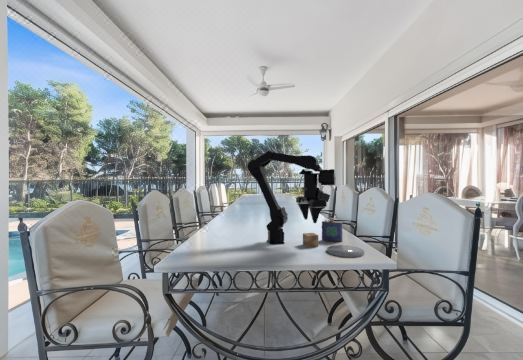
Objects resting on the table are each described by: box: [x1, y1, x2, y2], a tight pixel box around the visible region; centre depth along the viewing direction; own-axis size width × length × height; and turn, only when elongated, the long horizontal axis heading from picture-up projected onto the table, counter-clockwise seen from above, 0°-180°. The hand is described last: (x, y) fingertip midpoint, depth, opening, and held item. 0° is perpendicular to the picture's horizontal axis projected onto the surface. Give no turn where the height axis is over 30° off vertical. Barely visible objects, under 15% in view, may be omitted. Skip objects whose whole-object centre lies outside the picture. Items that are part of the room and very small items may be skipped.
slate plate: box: [326, 244, 365, 259], centre depth 112 cm, size 14×14×1 cm
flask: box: [321, 217, 343, 243], centre depth 130 cm, size 9×3×11 cm, turn 74°
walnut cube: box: [302, 232, 319, 248], centre depth 122 cm, size 5×5×5 cm
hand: (310, 221), depth 122 cm, fingers open, 9 cm apart
